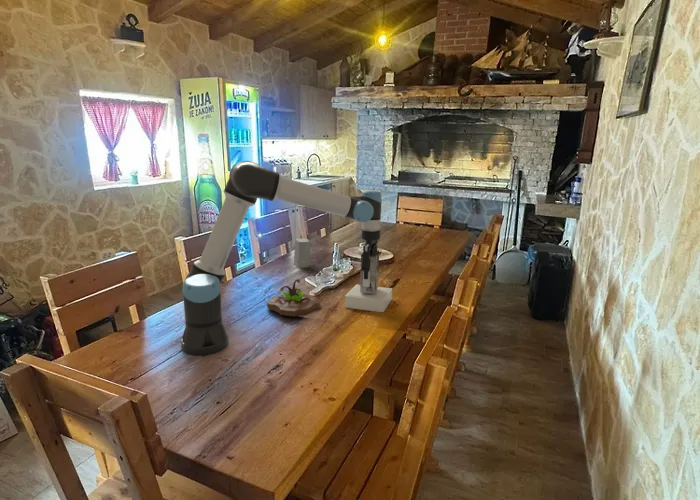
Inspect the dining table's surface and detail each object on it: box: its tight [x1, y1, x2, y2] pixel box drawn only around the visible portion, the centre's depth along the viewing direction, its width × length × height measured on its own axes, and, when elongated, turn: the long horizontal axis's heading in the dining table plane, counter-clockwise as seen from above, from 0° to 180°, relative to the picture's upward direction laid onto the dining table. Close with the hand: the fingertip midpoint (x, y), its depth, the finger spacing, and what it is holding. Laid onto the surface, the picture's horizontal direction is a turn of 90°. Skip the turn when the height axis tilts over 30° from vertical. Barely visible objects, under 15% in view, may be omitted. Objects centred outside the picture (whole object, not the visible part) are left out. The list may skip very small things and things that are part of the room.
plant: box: [266, 278, 321, 318], centre depth 171 cm, size 20×20×11 cm
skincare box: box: [293, 237, 312, 269], centre depth 226 cm, size 8×7×16 cm
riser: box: [344, 283, 393, 313], centre depth 176 cm, size 16×16×5 cm
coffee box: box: [359, 250, 380, 294], centre depth 173 cm, size 9×6×16 cm
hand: (369, 282), depth 174 cm, fingers closed on coffee box, 9 cm apart
